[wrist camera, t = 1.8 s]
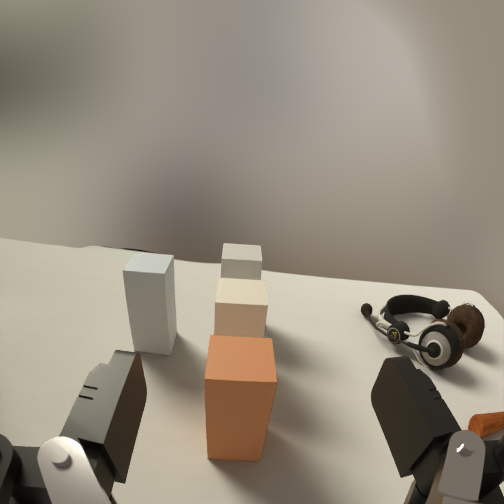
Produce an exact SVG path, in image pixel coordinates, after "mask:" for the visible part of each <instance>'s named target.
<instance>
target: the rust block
mask: <svg viewBox="0 0 504 504" xmlns="http://www.w3.org/2000/svg"><path fill="white" fill-rule="evenodd" d="M276 385H277V377H276V369H275V360H274V352H273V344H272V338H255V337H236V336H220V335H210V341H209V348H208V356H207V363H206V371H205V410H206V434H207V453H208V459H220V460H241V461H260V459H261V455H262V451H263V446H264V442H265V437H266V433H267V428H268V423H269V419H270V414H271V409H272V405H273V400H274V395H275V390H276Z"/></svg>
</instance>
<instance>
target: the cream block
mask: <svg viewBox="0 0 504 504" xmlns="http://www.w3.org/2000/svg"><path fill="white" fill-rule="evenodd" d="M267 308H268V302H267V294H266V286H265V280H249V279H233V278H219V279H218V285H217V292H216V299H215V325H214V335H220V336H236V337H255V338H264V332H265V324H266V316H267Z"/></svg>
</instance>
